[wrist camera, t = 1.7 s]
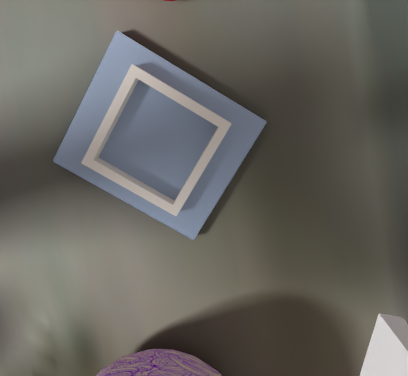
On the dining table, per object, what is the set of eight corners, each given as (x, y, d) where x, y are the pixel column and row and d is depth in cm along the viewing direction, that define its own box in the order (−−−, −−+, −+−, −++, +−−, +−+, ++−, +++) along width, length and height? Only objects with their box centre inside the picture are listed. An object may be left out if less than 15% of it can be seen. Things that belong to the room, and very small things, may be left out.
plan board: (57, 159, 35) (45, 164, 32) (120, 32, 32) (111, 26, 30) (194, 235, 36) (192, 246, 34) (265, 120, 34) (269, 122, 31)
